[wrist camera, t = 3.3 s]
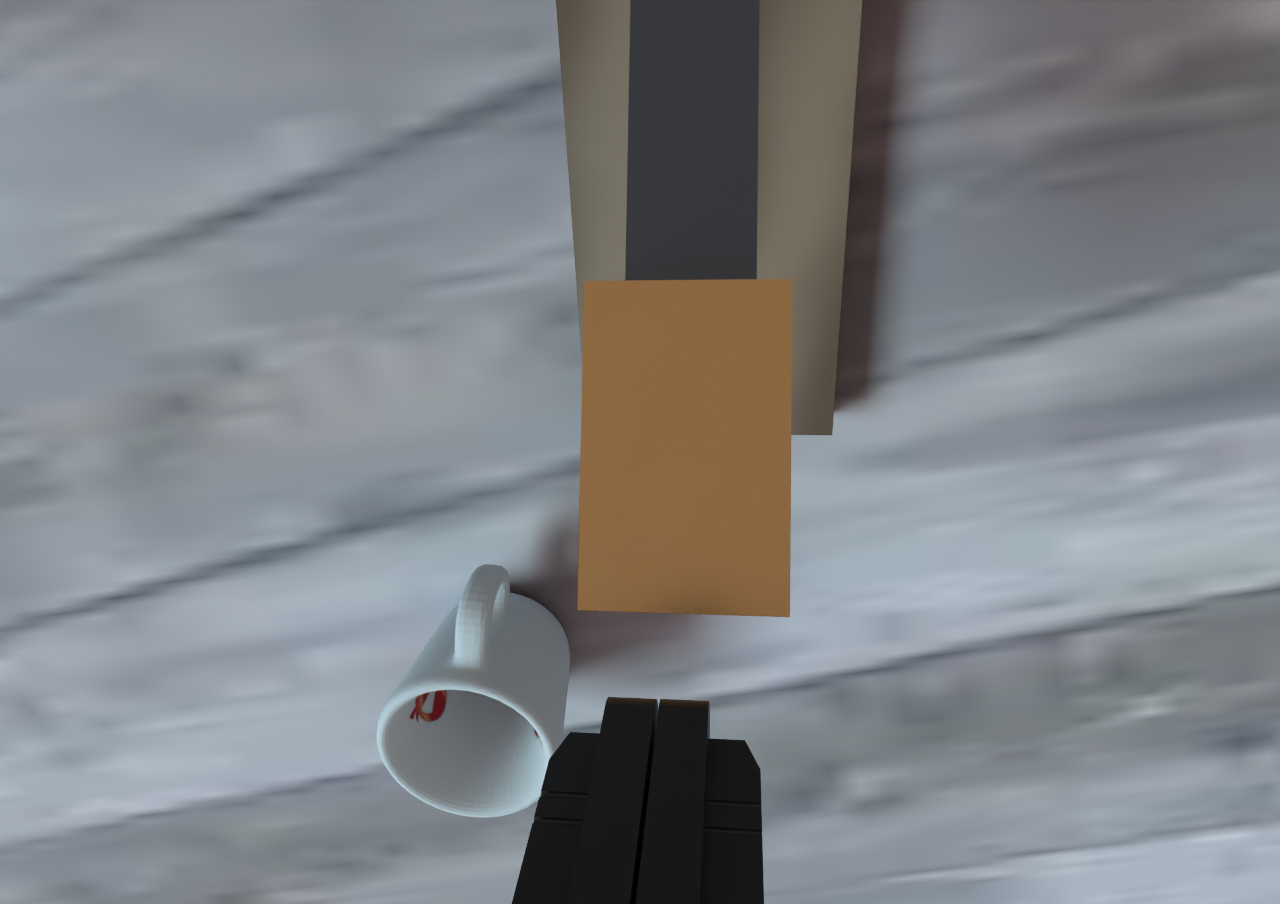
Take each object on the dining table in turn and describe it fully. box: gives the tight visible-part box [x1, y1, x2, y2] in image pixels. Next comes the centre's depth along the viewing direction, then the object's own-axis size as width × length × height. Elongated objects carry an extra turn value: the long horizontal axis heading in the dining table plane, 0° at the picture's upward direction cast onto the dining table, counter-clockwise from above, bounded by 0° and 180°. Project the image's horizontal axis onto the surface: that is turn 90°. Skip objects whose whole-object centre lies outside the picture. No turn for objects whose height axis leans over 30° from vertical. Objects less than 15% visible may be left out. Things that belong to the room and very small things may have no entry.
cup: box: [377, 565, 570, 817], centre depth 39 cm, size 11×8×8 cm
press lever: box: [577, 0, 792, 617], centre depth 20 cm, size 4×24×3 cm, turn 2°
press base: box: [556, 0, 862, 435], centre depth 28 cm, size 10×26×8 cm, turn 2°
